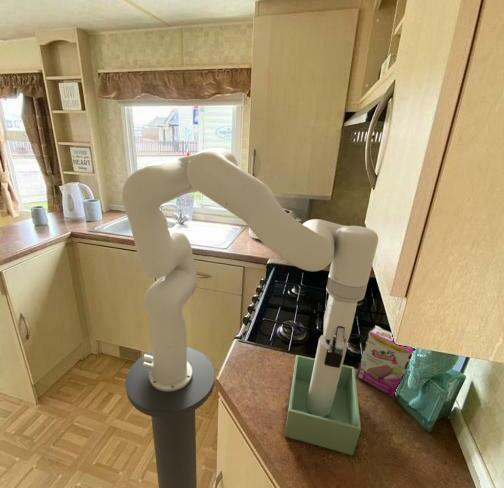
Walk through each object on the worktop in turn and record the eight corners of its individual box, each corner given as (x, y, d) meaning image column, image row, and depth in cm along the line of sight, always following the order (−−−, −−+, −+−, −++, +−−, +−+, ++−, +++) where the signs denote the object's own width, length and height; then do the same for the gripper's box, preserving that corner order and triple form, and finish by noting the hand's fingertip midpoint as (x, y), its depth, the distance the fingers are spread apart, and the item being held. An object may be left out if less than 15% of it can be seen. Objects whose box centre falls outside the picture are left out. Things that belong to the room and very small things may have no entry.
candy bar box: (355, 377, 91) (367, 331, 84) (362, 369, 94) (375, 324, 87) (395, 400, 84) (412, 352, 77) (402, 390, 87) (419, 343, 80)
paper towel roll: (324, 422, 75) (341, 354, 66) (301, 408, 79) (314, 341, 69) (336, 403, 80) (353, 337, 70) (314, 391, 84) (328, 326, 74)
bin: (284, 436, 74) (288, 410, 70) (292, 377, 90) (296, 354, 87) (352, 455, 70) (361, 429, 66) (348, 390, 87) (354, 367, 83)
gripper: (327, 266, 73) (316, 327, 80) (327, 304, 58) (313, 375, 65) (361, 271, 71) (346, 333, 79) (370, 312, 56) (351, 384, 63)
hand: (331, 352), depth 72 cm, fingers closed on paper towel roll, 8 cm apart
